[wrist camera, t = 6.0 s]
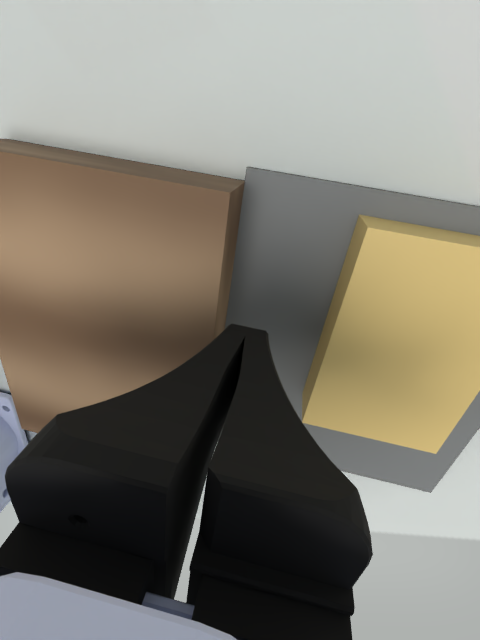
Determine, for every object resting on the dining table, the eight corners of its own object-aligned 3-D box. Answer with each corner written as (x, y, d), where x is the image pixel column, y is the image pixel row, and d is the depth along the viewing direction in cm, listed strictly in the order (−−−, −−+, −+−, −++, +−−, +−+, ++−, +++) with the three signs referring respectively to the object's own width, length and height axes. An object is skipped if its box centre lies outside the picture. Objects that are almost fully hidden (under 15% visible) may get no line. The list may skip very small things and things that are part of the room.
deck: (211, 429, 20) (197, 473, 17) (57, 391, 20) (21, 428, 18) (246, 180, 12) (230, 192, 10) (6, 139, 13) (-65, 139, 11)
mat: (429, 487, 19) (430, 492, 19) (210, 434, 20) (209, 438, 20) (618, 230, 11) (626, 232, 11) (247, 166, 12) (246, 167, 12)
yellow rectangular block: (301, 422, 15) (302, 393, 17) (436, 453, 14) (422, 420, 16) (367, 227, 10) (358, 214, 12) (567, 263, 10) (528, 244, 12)
